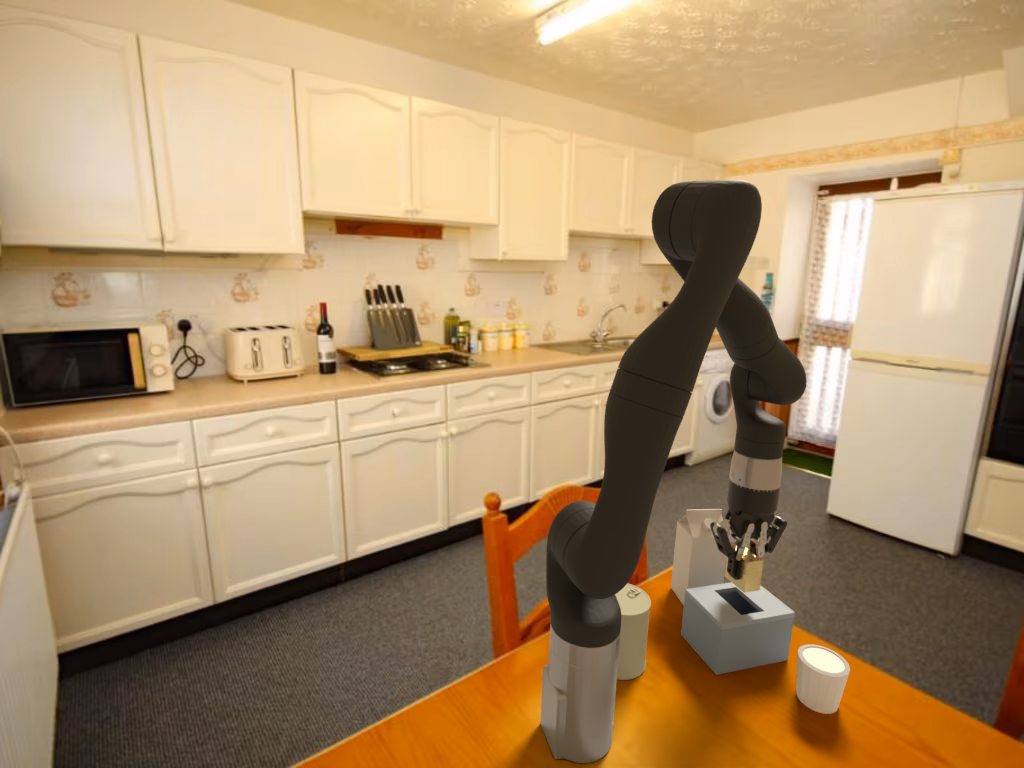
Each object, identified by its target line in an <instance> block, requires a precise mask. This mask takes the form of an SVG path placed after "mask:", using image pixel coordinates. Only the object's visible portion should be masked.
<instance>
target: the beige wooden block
mask: <svg viewBox="0 0 1024 768" xmlns="http://www.w3.org/2000/svg"><path fill="white" fill-rule="evenodd" d="M736 549H737V545H736ZM736 549H735V550H736ZM741 560H742V563H741V572H740V579H739V580H735V579H734V578H732V577H731V576H730V575H729V573H728V572H727V565H728V557H727V556H726V563H725V572H724V578H727V580H728V581H730V582H732V583H733V584H734V585H736V586H737V587H738V588H739V589H740V590H742V591H743V592H744V593H747V592H753V591H758V590H760V585H762V584H761V582H762V574H763V568H764V559H763V557H761V558H760V557H759V556H757V555H756V554H755V553H753V552H752V551H751V550H749V549H748V547H747V548H745V550H744V554H743V558H742V559H741Z"/></svg>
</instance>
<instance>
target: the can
mask: <svg viewBox="0 0 1024 768" xmlns="http://www.w3.org/2000/svg"><path fill="white" fill-rule="evenodd" d="M615 596H616V598H617V600H618V603H619V605H620V609H621V633H620V645H619V657H618V670H617V681H618V680H621V681H629V680H633V679H634V680H635V678H636V679H637V678H638V677H640V676H641V675H642V674H643V673H644V671H645V670H646V667H647V661H646V660H647V659H646V656H647V643H648V634H649V632H648V631H649V622H650V611H651V608H652V607H651V606H652V601H651V598H650V596H649V594H648V593H647V592H646V591H644V590H643V589H642V588H641V587H638V586H637V585H634V584H631V583H629V582H628V583H627V584H626V585H625V587H624V588H623V589H622V590H620V591H619V592H618V593H617V594H615Z"/></svg>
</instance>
